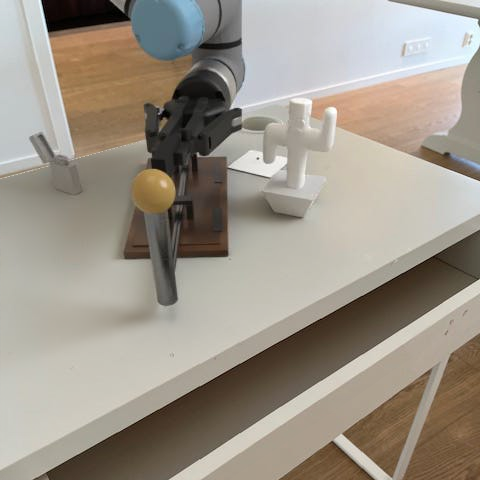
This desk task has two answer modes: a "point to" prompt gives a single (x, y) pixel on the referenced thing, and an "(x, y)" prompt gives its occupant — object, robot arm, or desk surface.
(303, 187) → the figurine
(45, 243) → the desk surface
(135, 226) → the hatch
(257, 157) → the white piece
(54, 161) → the lighter
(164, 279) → the bolt
